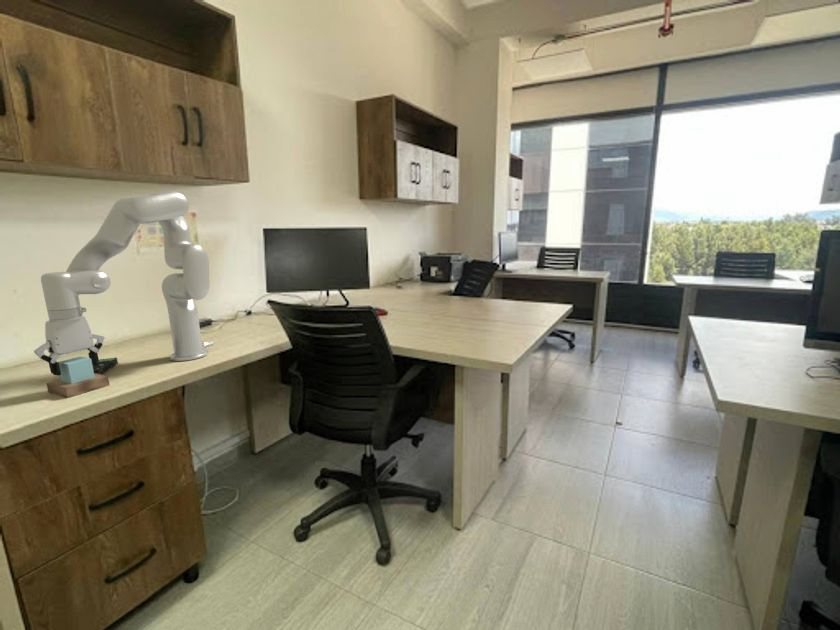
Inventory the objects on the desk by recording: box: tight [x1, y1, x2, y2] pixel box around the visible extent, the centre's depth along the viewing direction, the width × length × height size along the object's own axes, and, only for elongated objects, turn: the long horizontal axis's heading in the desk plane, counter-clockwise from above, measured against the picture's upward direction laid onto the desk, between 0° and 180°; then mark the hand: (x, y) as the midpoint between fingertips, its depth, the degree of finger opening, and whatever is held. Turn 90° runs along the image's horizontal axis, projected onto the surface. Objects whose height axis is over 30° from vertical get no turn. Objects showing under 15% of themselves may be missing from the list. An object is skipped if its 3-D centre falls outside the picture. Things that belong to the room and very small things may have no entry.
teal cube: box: [57, 356, 95, 384], centre depth 125 cm, size 6×6×6 cm
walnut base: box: [46, 373, 110, 399], centre depth 126 cm, size 11×11×3 cm
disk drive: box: [92, 357, 119, 375], centre depth 143 cm, size 10×3×15 cm
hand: (76, 369), depth 125 cm, fingers open, 9 cm apart
